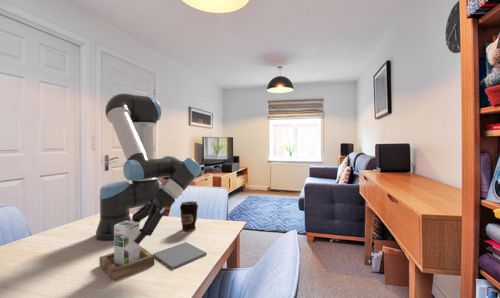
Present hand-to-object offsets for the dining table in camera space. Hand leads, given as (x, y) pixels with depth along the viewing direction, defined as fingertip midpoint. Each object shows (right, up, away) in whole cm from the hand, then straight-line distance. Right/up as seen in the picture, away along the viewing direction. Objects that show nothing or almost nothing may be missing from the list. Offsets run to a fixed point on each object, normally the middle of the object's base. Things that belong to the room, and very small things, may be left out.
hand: (123, 243), depth 80 cm
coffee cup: (+13, -7, +34) cm, 37 cm away
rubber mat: (+16, -8, +8) cm, 20 cm away
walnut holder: (0, -8, +1) cm, 8 cm away
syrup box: (0, -8, +1) cm, 8 cm away
